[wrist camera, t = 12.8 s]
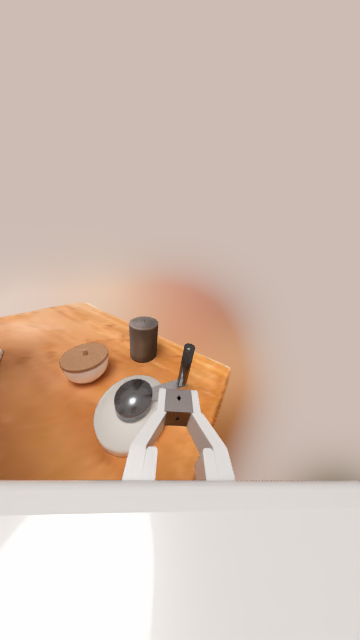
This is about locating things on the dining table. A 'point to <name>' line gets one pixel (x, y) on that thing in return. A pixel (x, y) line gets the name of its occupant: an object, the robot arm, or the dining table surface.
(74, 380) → the lidded jar
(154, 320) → the pillar candle
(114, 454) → the light grey round disc
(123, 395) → the saucepan with upright handle
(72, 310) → the dining table surface
